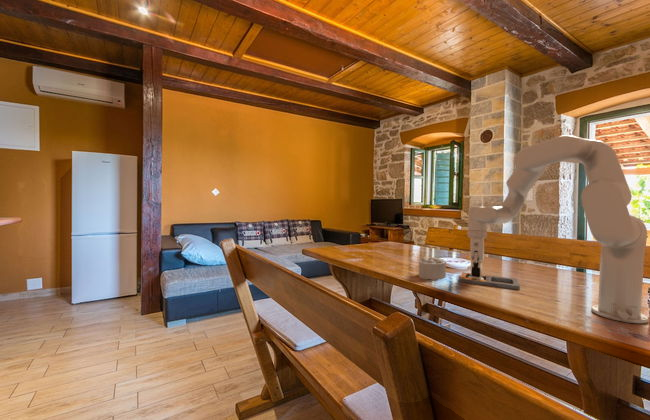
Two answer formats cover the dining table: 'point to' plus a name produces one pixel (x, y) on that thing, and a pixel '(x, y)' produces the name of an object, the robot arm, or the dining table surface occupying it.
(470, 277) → the flanged peg
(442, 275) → the lumpy-topped squat cylinder
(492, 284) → the grey slotted board
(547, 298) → the dining table surface
